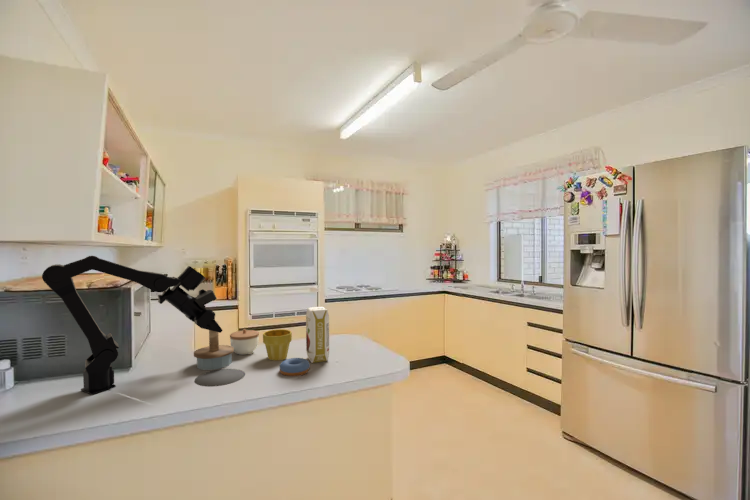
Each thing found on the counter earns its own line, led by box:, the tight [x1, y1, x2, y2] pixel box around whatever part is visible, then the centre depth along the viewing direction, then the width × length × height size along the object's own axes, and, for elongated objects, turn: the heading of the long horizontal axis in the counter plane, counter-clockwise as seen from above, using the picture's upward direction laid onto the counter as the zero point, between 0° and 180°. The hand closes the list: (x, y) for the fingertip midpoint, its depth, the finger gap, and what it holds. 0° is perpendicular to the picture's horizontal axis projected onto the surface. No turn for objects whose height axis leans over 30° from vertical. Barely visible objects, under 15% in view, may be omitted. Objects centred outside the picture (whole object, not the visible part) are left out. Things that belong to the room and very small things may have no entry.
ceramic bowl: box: [196, 353, 233, 371], centre depth 130 cm, size 11×11×4 cm
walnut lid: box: [193, 320, 235, 359], centre depth 129 cm, size 13×13×11 cm
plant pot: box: [262, 328, 293, 361], centre depth 137 cm, size 10×10×10 cm
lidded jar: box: [229, 328, 260, 355], centre depth 144 cm, size 11×11×9 cm
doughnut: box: [279, 357, 311, 377], centre depth 123 cm, size 10×10×5 cm
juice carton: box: [305, 306, 330, 364], centre depth 136 cm, size 8×9×19 cm
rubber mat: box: [194, 368, 246, 388], centre depth 118 cm, size 15×15×1 cm
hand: (217, 328), depth 130 cm, fingers open, 9 cm apart
